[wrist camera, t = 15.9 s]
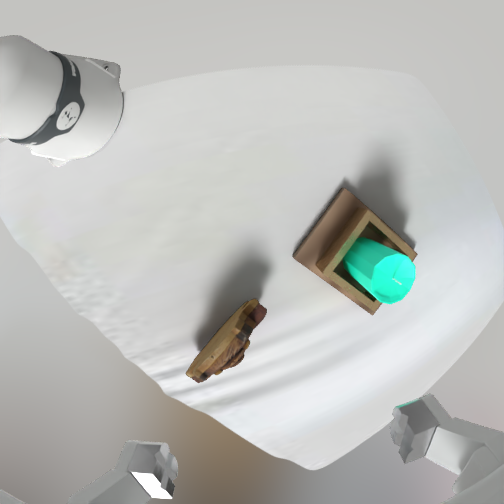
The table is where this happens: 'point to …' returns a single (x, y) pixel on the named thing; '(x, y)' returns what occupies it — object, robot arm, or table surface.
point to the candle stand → (346, 245)
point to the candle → (380, 269)
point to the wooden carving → (227, 342)
